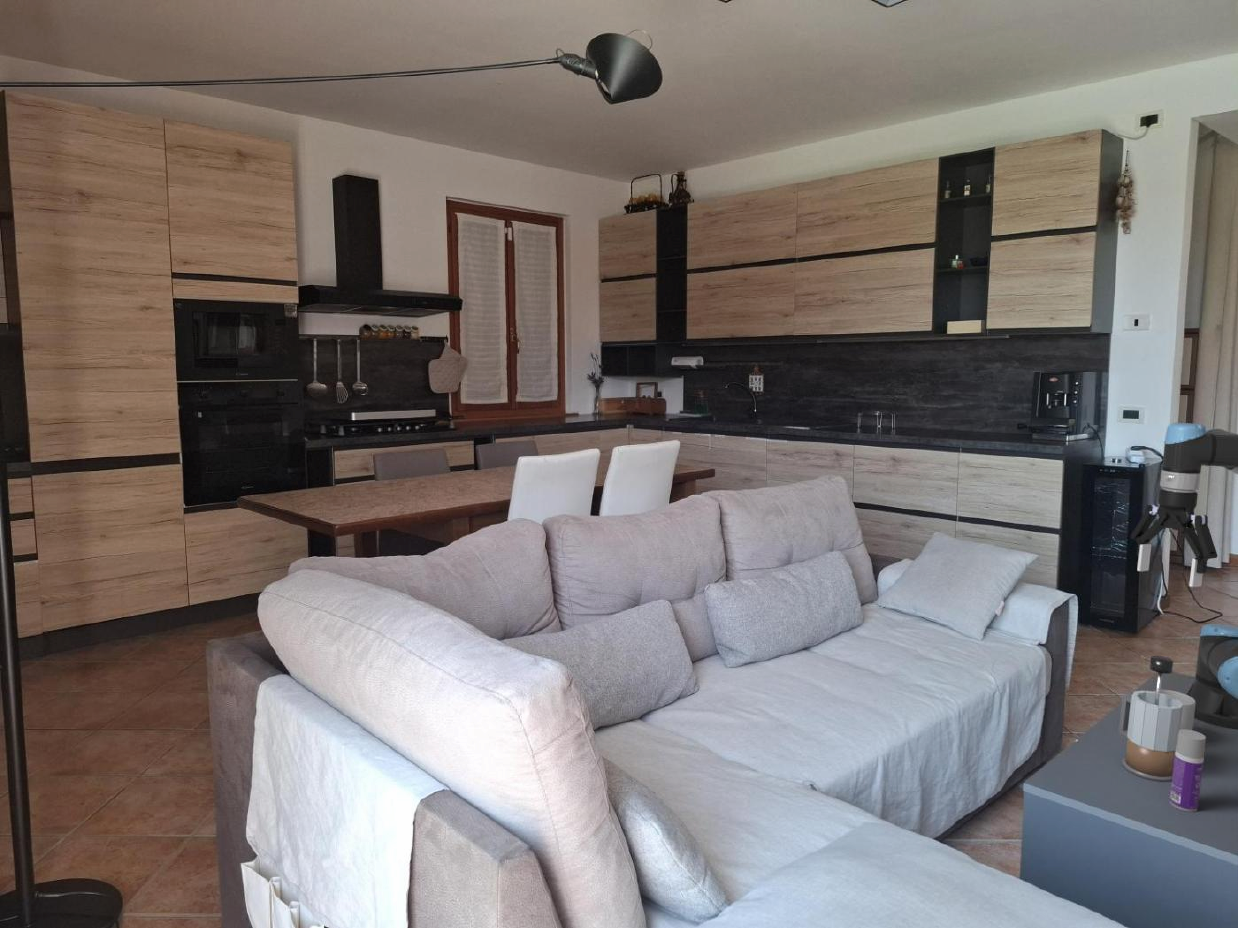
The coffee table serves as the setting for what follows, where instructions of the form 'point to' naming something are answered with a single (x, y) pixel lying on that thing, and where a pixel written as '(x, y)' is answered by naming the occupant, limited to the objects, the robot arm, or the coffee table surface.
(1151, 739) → the carafe
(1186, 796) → the container
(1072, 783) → the coffee table surface
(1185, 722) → the mug
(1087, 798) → the coffee table surface
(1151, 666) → the plunger
